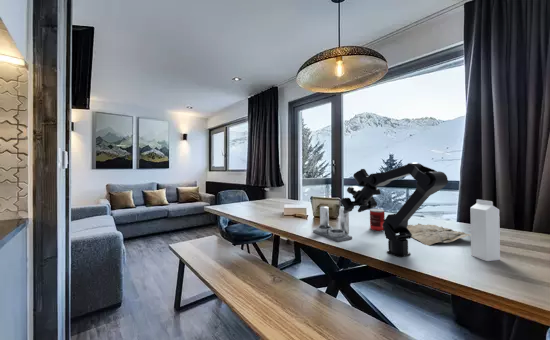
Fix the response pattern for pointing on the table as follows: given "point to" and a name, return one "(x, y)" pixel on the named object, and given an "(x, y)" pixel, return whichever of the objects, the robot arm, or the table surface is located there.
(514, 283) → the table surface
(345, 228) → the billet
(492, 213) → the milk
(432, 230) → the stone slab
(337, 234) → the grey cylinder holder
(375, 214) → the canned food
